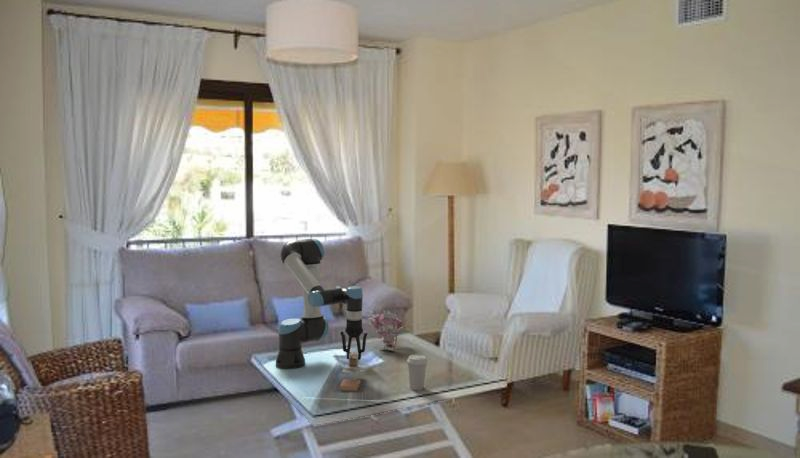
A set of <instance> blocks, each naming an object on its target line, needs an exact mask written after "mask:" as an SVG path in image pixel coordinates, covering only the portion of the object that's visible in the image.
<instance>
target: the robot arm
mask: <svg viewBox="0 0 800 458" xmlns="http://www.w3.org/2000/svg"><path fill="white" fill-rule="evenodd" d="M324 256H325V248H324V245H323V244H322V242H321V241H320V240H319V239H317V238H304V239H293V240H290V241H287V242H286V243H285V244H284V245H283V246H282V248H281V250H280V260H281V262H282V264H283V266H284V267H285V268H286V269H289V270H290V271H291V273H292V274H293V276H294V277H295V278H296V280H297V281H298V282H299V284H300V285H301V287H302V298H303V299H302V301H303V314H302V315H301V318H299V317H298V318H295V317H293V318H287V319H285V320H282V321H281V322H280V323H279V324H278V352H277V356H276V359H275V366H276V368H279V369H286V370H290V369H291V370H292V369H293V370H294V369H298V368H301V367H303V366H305V365H306V359H305V356H304V353H303V349H302V344H304V343H309V342H317V341H320V340H323V339H326V337H327V336H328V333H329V322H328V319H327V318H326V317H325V316H324V314H323V313H322V312H321V307H324V306H325V307H326V306H330V305H337V304H344V305H346V328H345V329H344V330H341V331H340V336H341V339H342V343H341V344H342V351H343V352H345V353H346V359H347V360H348V366H349V367H350V357H351V356H352V351H351V347H352V341H353V339H354V338H355V341H356V349H357V366H356V367H360V360H361V359H362V353H364V352H365V350H366V345H367V344H366V342H367V336H368V333H369V332H368V331H365V330H364V329H363V296H364V295H363V288H362V287H361V286H359V285H358V286H357V285H350V286H348V287H345V286H340V285H337V286H335V287H333V288H329V289H324V287H323V286H322V285H321V284H320V283H319V281H320V280H319V266H320V265H321V261H322V260H323V259H324ZM346 334H347V336H348V343H347V341H346ZM361 335H362V336H363V338H362V347H361V339H360V336H361Z"/></svg>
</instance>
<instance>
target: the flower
mask: <svg viewBox="0 0 800 458" xmlns="http://www.w3.org/2000/svg"><path fill="white" fill-rule="evenodd" d="M367 319H368V321H369V323H368V324H369V325H371V326H373V327H374V329H375V333H376V334H377V338H378V339H382V343H383V344H384V345H385V344H386V345H387V346H386V345H385V346H382V347H380V348H379V350H380V351H381V350H382V349H387V350H388V351H392V352H394V353H397V352H396V348H397V343H398V337H399V335H398V332H402V331H404V332H407V333H409V331H408V330H407V328H405V326H403V325H404V321H402V319H399V318H398V315H397V313H393V312H392V311H391V312H390V309H388V310H385V309H383V311H382V313H381V314H379V313H378V314H377V315H375V314H373V313H372V314H370V317H368V318H367ZM383 326H384V328H385V330H384V328H383ZM391 332H394V333H391ZM394 342H395V343H394ZM390 345H391V346H392V348H391V347H389V346H390Z"/></svg>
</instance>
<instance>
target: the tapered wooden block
mask: <svg viewBox="0 0 800 458" xmlns="http://www.w3.org/2000/svg"><path fill="white" fill-rule="evenodd" d="M357 352H358V351H357ZM357 352H356V351H355V352H352V353H351V357H350V366H349V365H344V366H343V369H342V370H341V375H342V374H343V375H359V374H360V373H361V370H362V367H361V366H358V367H356V366H357Z"/></svg>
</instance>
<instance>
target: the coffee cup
mask: <svg viewBox="0 0 800 458" xmlns="http://www.w3.org/2000/svg"><path fill="white" fill-rule="evenodd" d="M406 363H407V365H408V366H407V367H408V378H409V379H408V380H409V390H411V389H412V390H411V391H423V390H424V388H425V377H426V367H427V363H428V359H427V358H426V356H425V355H423V354H422V355H421V354H412V355H409V356H408V358H407V360H406ZM422 389H423V390H422Z"/></svg>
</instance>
